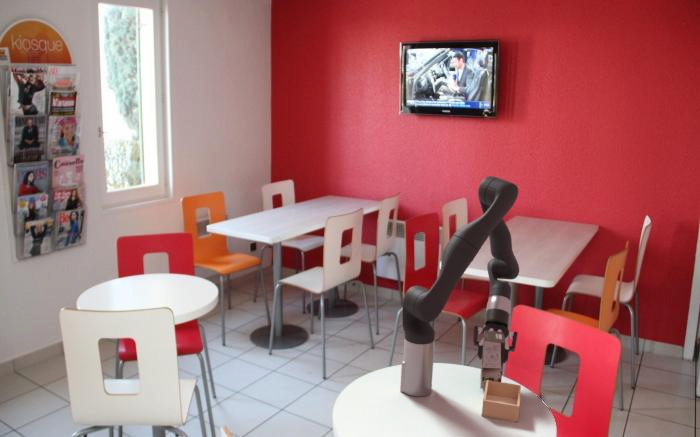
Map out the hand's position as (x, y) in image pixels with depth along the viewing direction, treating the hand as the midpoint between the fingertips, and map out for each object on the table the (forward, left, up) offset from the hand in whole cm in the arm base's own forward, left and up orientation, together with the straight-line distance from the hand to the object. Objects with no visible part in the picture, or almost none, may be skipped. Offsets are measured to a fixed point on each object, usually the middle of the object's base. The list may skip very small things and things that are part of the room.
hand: (492, 360), depth 199 cm
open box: (+4, -13, -9) cm, 16 cm away
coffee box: (0, 0, -8) cm, 8 cm away
